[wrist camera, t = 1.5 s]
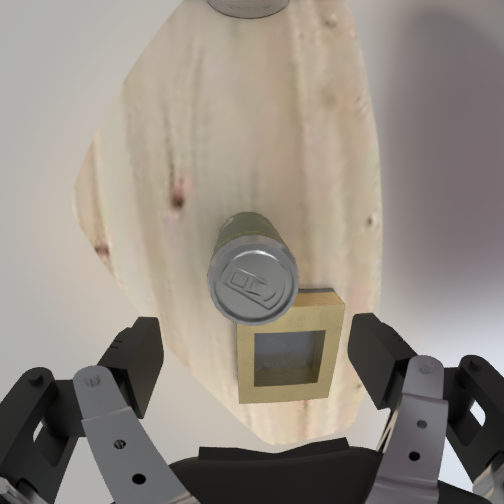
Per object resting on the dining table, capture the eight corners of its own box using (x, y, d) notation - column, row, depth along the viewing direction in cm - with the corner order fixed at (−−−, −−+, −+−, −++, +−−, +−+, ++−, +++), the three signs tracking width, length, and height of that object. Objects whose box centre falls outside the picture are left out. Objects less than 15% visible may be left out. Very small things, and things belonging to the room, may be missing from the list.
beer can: (210, 252, 27) (191, 308, 16) (233, 201, 26) (229, 221, 14) (260, 274, 28) (275, 341, 16) (285, 225, 27) (319, 263, 15)
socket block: (236, 290, 28) (236, 308, 24) (332, 288, 29) (345, 304, 25) (238, 380, 31) (238, 403, 27) (319, 376, 32) (327, 397, 28)
